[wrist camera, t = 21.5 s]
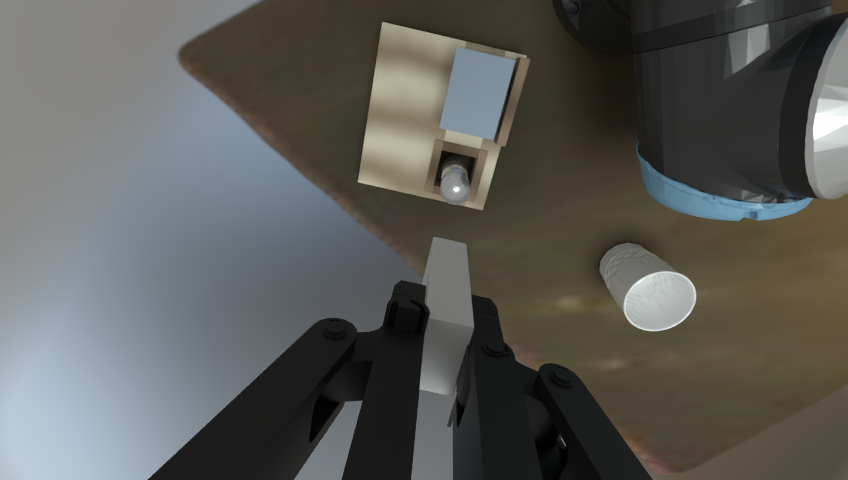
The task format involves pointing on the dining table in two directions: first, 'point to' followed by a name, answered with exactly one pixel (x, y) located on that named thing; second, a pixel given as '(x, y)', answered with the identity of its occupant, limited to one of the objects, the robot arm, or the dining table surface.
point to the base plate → (426, 115)
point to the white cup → (647, 287)
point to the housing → (476, 93)
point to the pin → (454, 180)
